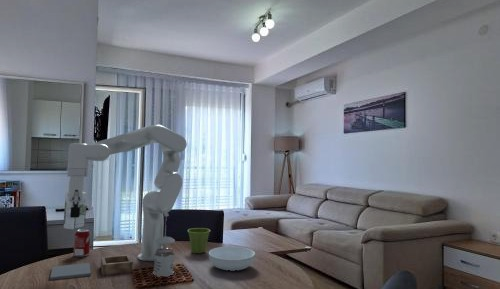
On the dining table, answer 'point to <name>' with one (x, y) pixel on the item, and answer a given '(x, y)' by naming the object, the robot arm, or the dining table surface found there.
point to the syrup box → (78, 221)
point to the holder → (116, 264)
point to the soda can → (82, 243)
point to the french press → (164, 256)
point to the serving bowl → (231, 258)
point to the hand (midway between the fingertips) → (74, 215)
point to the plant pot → (198, 239)
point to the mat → (70, 271)
